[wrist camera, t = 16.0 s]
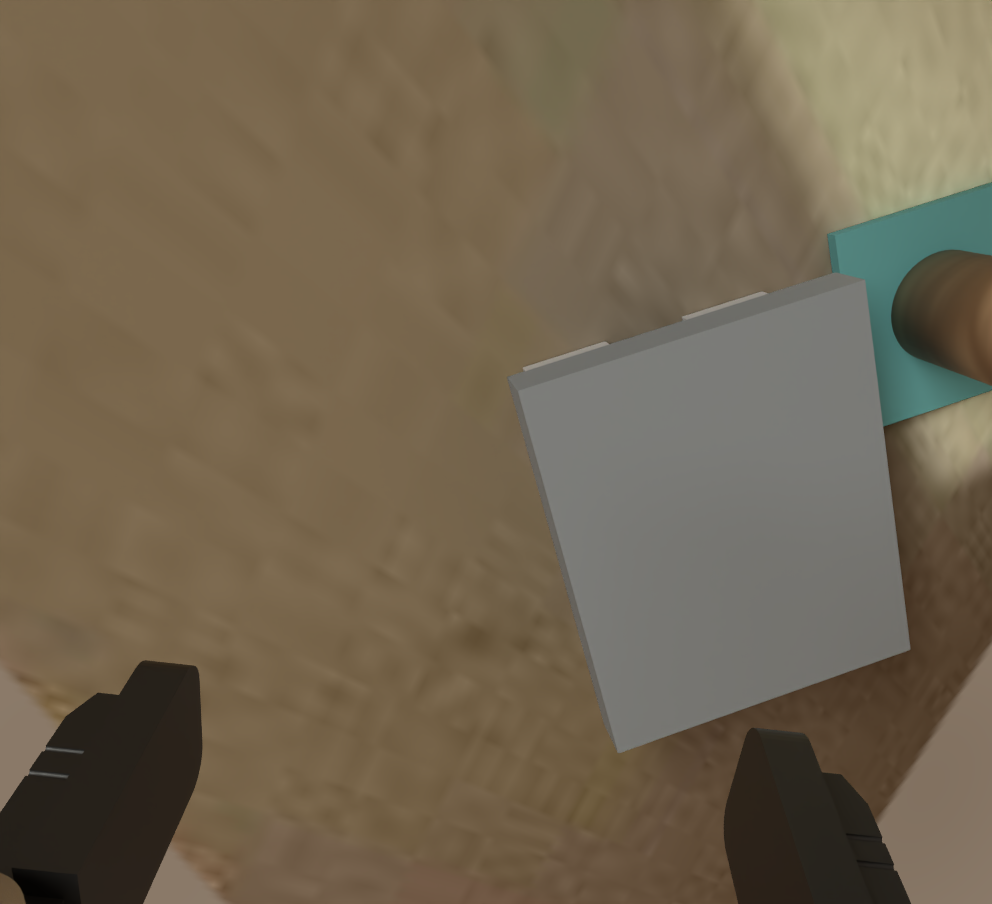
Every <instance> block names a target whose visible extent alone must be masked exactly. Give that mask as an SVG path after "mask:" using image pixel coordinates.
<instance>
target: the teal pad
mask: <svg viewBox="0 0 992 904" xmlns="http://www.w3.org/2000/svg"><path fill="white" fill-rule="evenodd" d="M827 235H828V243H829V250H830V258H831V265H832V272H833V273H835V272H836V273H840V274H844V275H848V276H852V277H856V278H860V279H864V280H865V283H866V291H867V299H868V307H869V316H870V324H871V332H872V340H873V348H874V356H875V364H876V372H877V381H878V389H879V397H880V405H881V413H882V421H883V427H884V426H887V425H890V424H893V423H896V422H899V421H902V420H905V419H908V418H911V417H914V416H916V415H919V414H922V413H925V412H928V411H931V410H934V409H937V408H940V407H943V406H946V405H949V404H952V403H955V402H958V401H961V400H964V399H967V398H970V397H973V396H976V395H979V394H982V393H985V392H988V391H991V390H992V386H991V385H988V384H986V383H983V382H980V381H977V380H975V379H972V378H969V377H967V376H964V375H961V374H959V373H956V372H953V371H950V370H948V369H945V368H942V367H940V366H937V365H934V364H932V363H929V362H926V361H924V360H921V359H918V358H915V357H914V356H912V355H910V354H909V353H907V352H906V351H905V350H904V349H903V348H902V347H901V346H900V344H899V343H898V341H897V339H896V337H895V335H894V332H893V329H892V323H891V310H892V304H893V300H894V296H895V293H896V291H897V289H898V287H899V285H900V283H901V281H902V280H903V278H904V277H905V276H906V274H907V273H908V272H909V271H910V270H911V269H912V268H913V267H914V266H915V265H916V264H917V263H918V262H920V261H921V260H922V259H924V258H926V257H927V256H929V255H931V254H934V253H936V252H939V251H944V250H962V251H968V252H974V253H980V254H985V255H991V256H992V182H991V183H988V184H985V185H982V186H978V187H975V188H972V189H969V190H966V191H963V192H959V193H956V194H953V195H950V196H947V197H944V198H940V199H937V200H934V201H931V202H928V203H924V204H921V205H918V206H915V207H912V208H909V209H905V210H902V211H899V212H896V213H893V214H890V215H886V216H883V217H880V218H877V219H874V220H871V221H867V222H864V223H861V224H858V225H855V226H852V227H848V228H845V229H842V230H839V231H836V232H832V233H829V234H827Z"/></svg>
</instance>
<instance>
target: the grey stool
mask: <svg viewBox="0 0 992 904" xmlns="http://www.w3.org/2000/svg"><path fill="white" fill-rule="evenodd" d="M523 370H524V372H521V373H518V374H515V375H512V376H509V377H507V379H508V383H509V386H510V390H511V393H512V397H513V400H514V404H515V408H516V411H517V415H518V418H519V422H520V425H521V429H522V433H523V436H524V440H525V443H526V447H527V450H528V454H529V458H530V461H531V465H532V468H533V472H534V475H535V479H536V483H537V486H538V490H539V493H540V497H541V500H542V504H543V508H544V511H545V515H546V518H547V522H548V525H549V529H550V533H551V536H552V540H553V543H554V547H555V550H556V554H557V558H558V561H559V565H560V568H561V572H562V575H563V579H564V583H565V586H566V590H567V593H568V597H569V600H570V604H571V608H572V611H573V615H574V618H575V622H576V625H577V629H578V633H579V636H580V640H581V643H582V647H583V650H584V654H585V658H586V661H587V665H588V668H589V672H590V675H591V679H592V682H593V686H594V690H595V693H596V697H597V700H598V704H599V707H600V711H601V715H602V718H603V722H604V725H605V727H606V729H607V731H608V733H609V735H610V737H611V739H612V741H613V743H614V746H615V748H616V750H617V752H618V753H621V752H624V751H626V750H629V749H632V748H635V747H638V746H641V745H643V744H646V743H649V742H652V741H655V740H657V739H660V738H663V737H666V736H669V735H672V734H674V733H677V732H680V731H683V730H686V729H688V728H691V727H694V726H697V725H700V724H702V723H705V722H708V721H711V720H714V719H717V718H719V717H722V716H725V715H728V714H731V713H733V712H736V711H739V710H742V709H745V708H748V707H750V706H753V705H756V704H759V703H762V702H764V701H767V700H770V699H773V698H776V697H779V696H781V695H784V694H787V693H790V692H793V691H795V690H798V689H801V688H804V687H807V686H810V685H812V684H815V683H818V682H821V681H824V680H826V679H829V678H832V677H835V676H838V675H841V674H843V673H846V672H849V671H852V670H855V669H857V668H860V667H863V666H866V665H869V664H872V663H874V662H877V661H880V660H883V659H886V658H888V657H891V656H894V655H897V654H900V653H903V652H905V651H908V650H911V649H910V641H909V633H908V625H907V617H906V609H905V600H904V592H903V584H902V576H901V568H900V560H899V552H898V543H897V535H896V527H895V519H894V511H893V503H892V495H891V486H890V478H889V470H888V462H887V454H886V446H885V438H884V429H883V421H882V413H881V405H880V397H879V389H878V381H877V372H876V364H875V356H874V348H873V340H872V332H871V324H870V316H869V307H868V299H867V291H866V283H865V280H864V279H860V278H856V277H852V276H848V275H844V274H840V273H836V272H835V273H832V274H829V275H825V276H822V277H819V278H816V279H813V280H810V281H807V282H803V283H800V284H797V285H794V286H791V287H788V288H785V289H782V290H778V291H775V292H772V293H769V294H768V293H765V292H758V293H755V294H752V295H749V296H746V297H743V298H740V299H736V300H733V301H730V302H727V303H724V304H721V305H718V306H714V307H711V308H708V309H705V310H702V311H699V312H696V313H692V314H689V315H686V316H683V317H682V321H681V322H678V323H675V324H672V325H669V326H665V327H662V328H659V329H656V330H653V331H650V332H647V333H643V334H640V335H637V336H634V337H631V338H628V339H625V340H622V341H618V342H615V343H612V344H608V343H607V342H601V343H598V344H595V345H592V346H589V347H586V348H583V349H579V350H576V351H573V352H570V353H567V354H564V355H561V356H557V357H554V358H551V359H548V360H545V361H542V362H539V363H535V364H532V365H529V366H526V367H523Z"/></svg>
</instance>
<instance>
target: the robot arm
mask: <svg viewBox="0 0 992 904" xmlns="http://www.w3.org/2000/svg"><path fill="white" fill-rule="evenodd" d="M201 758H202V726H201V703H200V681H199V672H198V669H197V667H196V666H192V665H183V664H174V663H164V662H155V661H146V660H145V661H142V662H141V663H140V664H139V665H138V666H137V667H136V669H135V670H134V672H133V673H132V675H131V677H130V678H129V680H128V681H127V683H126V685H125V686H124V688H123V689H122V691H121V693H120V694H119V695H114V694H105V693H97V694H96V695H94V696H93V697H91V698H90V699H89V700H87V701H86V702H85V703H83V704H82V705H81V706H79V707H78V708H77V709H75V710H74V711H73V712H71V713H70V714H69V715H67V716H66V717H65V719H64V720H63V721H62V723H61V724H60V726H59V727H58V729H57V730H56V732H55V733H54V735H53V736H52V738H51V739H50V741H49V742H48V743H47V745H46V750H45V751H44V752H41V754H40V755H39V757H38V758H37V760H36V761H35V762H34V764H33V765H32V767H31V768H30V772H29V775H28V776H25V777H24V779H23V780H22V782H21V783H20V784H19V786H18V787H17V789H16V790H15V792H14V793H13V795H12V796H11V798H10V799H9V801H8V802H7V804H6V805H5V807H4V808H3V809H2V811H1V812H0V904H143V902H144V900H145V898H146V896H147V894H148V891H149V889H150V887H151V884H152V882H153V880H154V878H155V875H156V873H157V871H158V869H159V867H160V864H161V862H162V860H163V858H164V856H165V853H166V851H167V849H168V847H169V844H170V842H171V840H172V838H173V835H174V833H175V831H176V829H177V826H178V824H179V822H180V820H181V818H182V815H183V813H184V811H185V809H186V806H187V804H188V802H189V800H190V797H191V795H192V793H193V790H194V788H195V785H196V782H197V778H198V774H199V770H200V765H201ZM724 841H725V848H726V853H727V858H728V862H729V866H730V870H731V874H732V879H733V883H734V887H735V891H736V896H737V900H738V904H911V903H910V900H909V898H908V896H907V893H906V891H905V888H904V886H903V884H902V882H901V879H900V877H899V875H898V872H897V871H894V868H893V865H894V863H893V861H892V859H891V856H890V854H889V852H888V849H887V847H886V845H885V844H884V843H882V836H881V833H880V831H879V829H878V826H877V824H876V822H875V819H874V817H873V815H872V813H871V810H870V808H869V806H868V804H867V803H866V802H865V801H864V799H863V798H862V797H861V796H860V795H859V794H858V793H857V792H856V790H855V789H854V788H853V787H852V786H851V785H850V784H849V783H848V782H847V780H846V779H845V778H844V777H843V776H842V775H841V774H832V773H822V772H821V769H820V766H819V764H818V761H817V759H816V756H815V754H814V751H813V748H812V746H811V743H810V741H809V739H808V738H807V736H806V735H805V734H803V733H797V732H787V731H778V730H769V729H760V728H751V729H750V730H749V731H748V733H747V735H746V738H745V741H744V744H743V748H742V751H741V755H740V758H739V762H738V765H737V769H736V772H735V775H734V779H733V782H732V786H731V789H730V793H729V796H728V800H727V803H726V808H725V815H724Z"/></svg>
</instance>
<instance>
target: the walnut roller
mask: <svg viewBox="0 0 992 904" xmlns="http://www.w3.org/2000/svg"><path fill="white" fill-rule="evenodd" d="M891 323H892V329H893V332H894V335H895V337H896V339H897V341H898V343H899V344H900V346H901V347H902V348H903V349H904V350H905V351H906V352H907V353H909V354H910V355H912V356H914V357H915V358H918V359H921V360H924V361H926V362H929V363H932V364H934V365H937V366H940V367H942V368H945V369H948V370H950V371H953V372H956V373H959V374H961V375H964V376H967V377H969V378H972V379H975V380H977V381H980V382H983V383H986V384H988V385H991V386H992V256H991V255H985V254H980V253H974V252H968V251H962V250H944V251H939V252H936V253H934V254H931V255H929V256H927V257H926V258H924V259H922V260H921V261H920V262H918V263H917V264H916V265H915V266H914V267H913V268H912V269H911V270H910V271H909V272H908V273H907V274H906V276H905V277H904V278H903V280H902V281H901V283H900V285H899V287H898V289H897V291H896V293H895V296H894V300H893V304H892V310H891Z"/></svg>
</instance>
